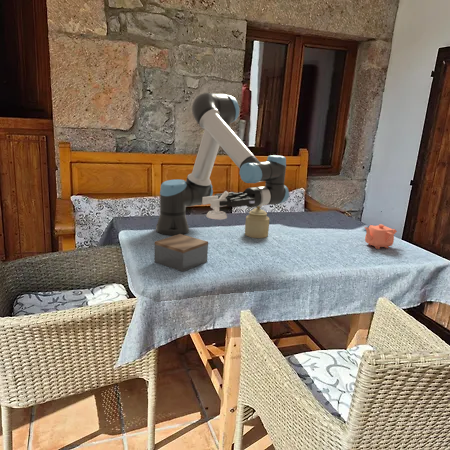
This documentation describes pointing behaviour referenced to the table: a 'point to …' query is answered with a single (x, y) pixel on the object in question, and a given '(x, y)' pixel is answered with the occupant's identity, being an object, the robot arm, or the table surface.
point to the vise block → (180, 252)
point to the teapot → (379, 236)
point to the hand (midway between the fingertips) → (207, 202)
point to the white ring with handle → (216, 213)
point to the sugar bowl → (257, 224)
